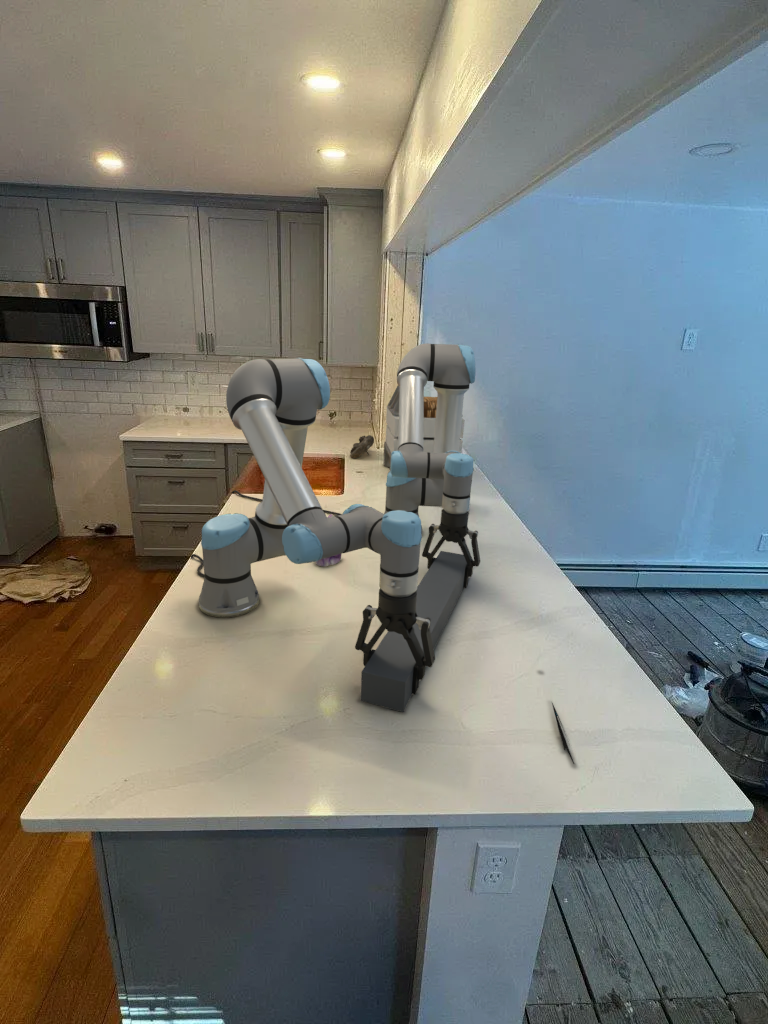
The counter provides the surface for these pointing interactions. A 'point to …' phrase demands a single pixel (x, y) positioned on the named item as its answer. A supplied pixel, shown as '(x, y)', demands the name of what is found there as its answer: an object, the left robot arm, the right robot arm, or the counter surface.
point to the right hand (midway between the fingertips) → (448, 582)
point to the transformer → (429, 426)
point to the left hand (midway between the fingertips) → (392, 684)
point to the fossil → (362, 446)
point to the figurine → (329, 558)
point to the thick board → (393, 659)
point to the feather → (562, 734)
